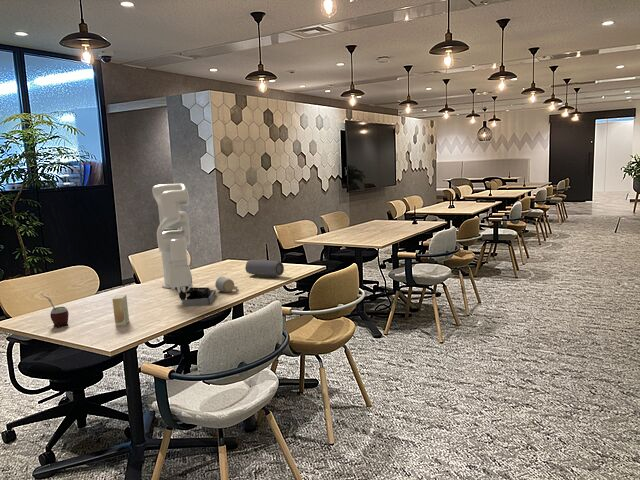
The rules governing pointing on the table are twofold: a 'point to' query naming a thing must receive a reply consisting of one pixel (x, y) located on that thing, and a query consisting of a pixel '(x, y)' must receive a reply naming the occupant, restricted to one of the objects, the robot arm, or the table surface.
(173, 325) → the table surface
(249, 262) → the bluetooth speaker
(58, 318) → the mate gourd
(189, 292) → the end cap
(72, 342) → the table surface
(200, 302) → the tray
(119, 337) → the table surface
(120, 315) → the skincare box
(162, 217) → the robot arm
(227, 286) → the ceramic mug
